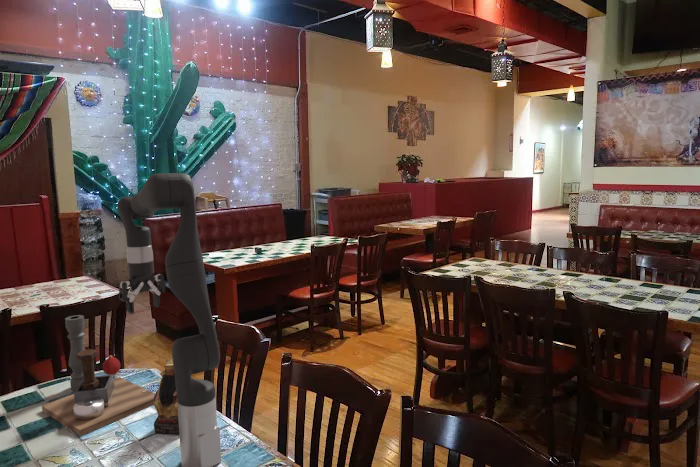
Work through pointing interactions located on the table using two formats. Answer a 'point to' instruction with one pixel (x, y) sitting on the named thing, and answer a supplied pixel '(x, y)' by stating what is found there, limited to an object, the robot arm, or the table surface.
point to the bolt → (88, 369)
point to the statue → (167, 403)
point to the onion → (111, 366)
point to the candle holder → (75, 347)
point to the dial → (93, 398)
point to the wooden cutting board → (121, 405)
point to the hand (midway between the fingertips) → (144, 309)
